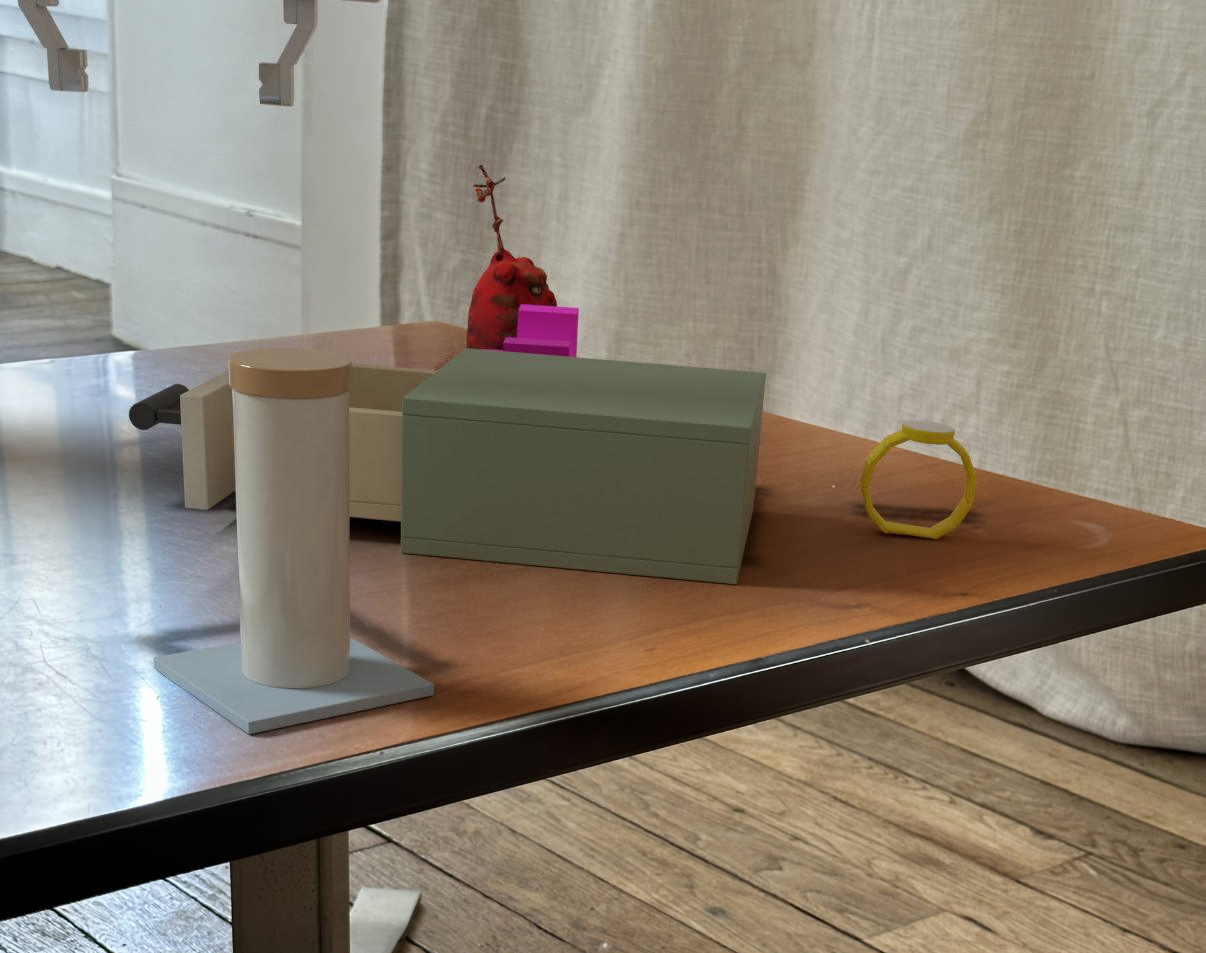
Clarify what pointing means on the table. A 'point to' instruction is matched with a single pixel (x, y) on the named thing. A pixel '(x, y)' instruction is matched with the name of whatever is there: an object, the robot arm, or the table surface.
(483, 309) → the red clay folk toy
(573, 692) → the table surface
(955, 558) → the table surface
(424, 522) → the cabinet
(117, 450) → the table surface
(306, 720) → the mat
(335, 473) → the spice jar
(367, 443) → the drawer
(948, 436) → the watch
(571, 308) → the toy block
